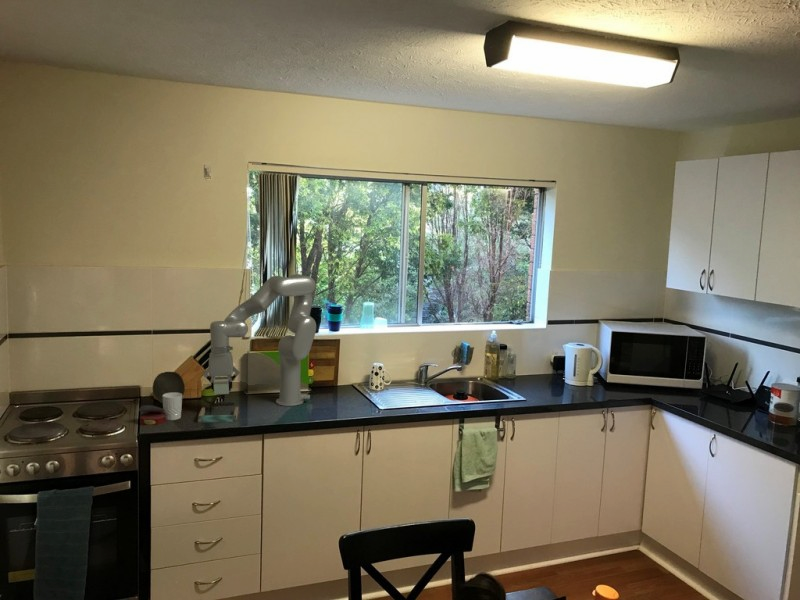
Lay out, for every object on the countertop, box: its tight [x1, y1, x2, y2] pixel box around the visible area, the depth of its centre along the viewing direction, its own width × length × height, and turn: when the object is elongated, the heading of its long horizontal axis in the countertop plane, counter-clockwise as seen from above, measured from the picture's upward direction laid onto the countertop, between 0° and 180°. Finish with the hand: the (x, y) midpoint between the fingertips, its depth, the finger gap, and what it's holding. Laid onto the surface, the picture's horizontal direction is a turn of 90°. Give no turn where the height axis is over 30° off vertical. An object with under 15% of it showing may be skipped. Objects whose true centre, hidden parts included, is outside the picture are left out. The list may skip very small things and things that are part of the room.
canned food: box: [138, 404, 166, 427], centre depth 266 cm, size 11×10×10 cm
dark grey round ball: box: [152, 371, 186, 405], centre depth 290 cm, size 14×14×15 cm
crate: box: [213, 376, 230, 395], centre depth 279 cm, size 6×6×6 cm
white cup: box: [162, 392, 183, 421], centre depth 272 cm, size 8×8×10 cm
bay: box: [197, 406, 239, 423], centre depth 275 cm, size 15×13×2 cm
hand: (222, 390), depth 279 cm, fingers closed on crate, 6 cm apart
